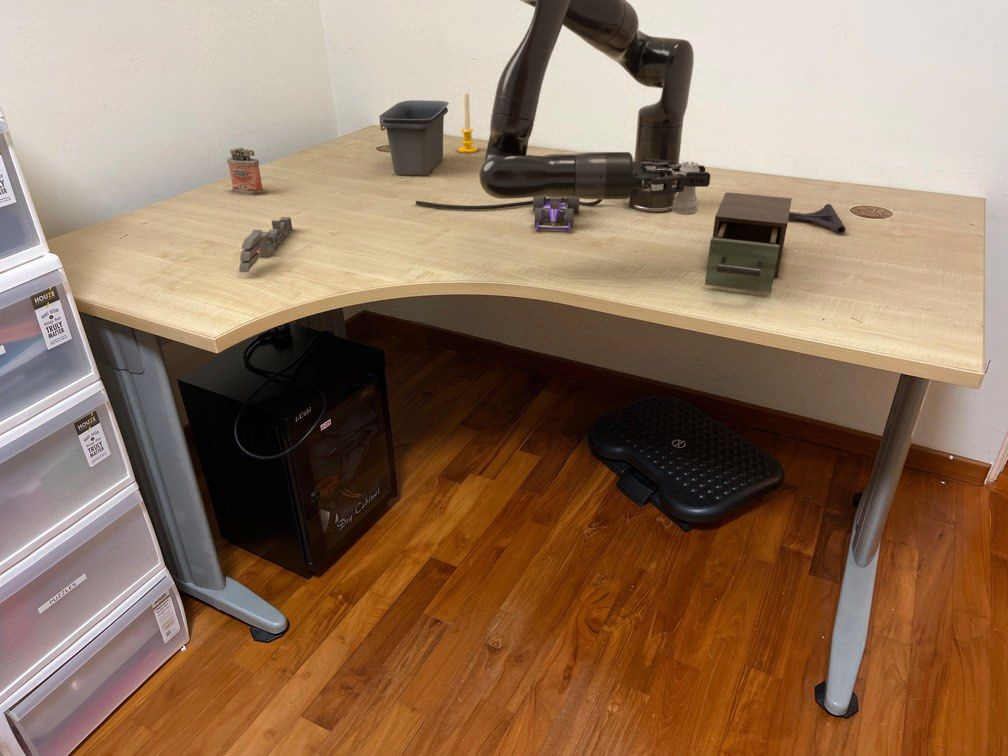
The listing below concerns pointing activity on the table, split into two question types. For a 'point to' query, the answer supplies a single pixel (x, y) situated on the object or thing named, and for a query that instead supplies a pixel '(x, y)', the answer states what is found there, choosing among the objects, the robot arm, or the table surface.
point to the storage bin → (415, 135)
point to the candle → (467, 127)
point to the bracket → (820, 218)
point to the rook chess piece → (686, 194)
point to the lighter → (245, 172)
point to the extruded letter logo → (263, 242)
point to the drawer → (743, 257)
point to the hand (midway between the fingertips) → (706, 175)
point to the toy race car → (555, 212)
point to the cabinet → (755, 215)
